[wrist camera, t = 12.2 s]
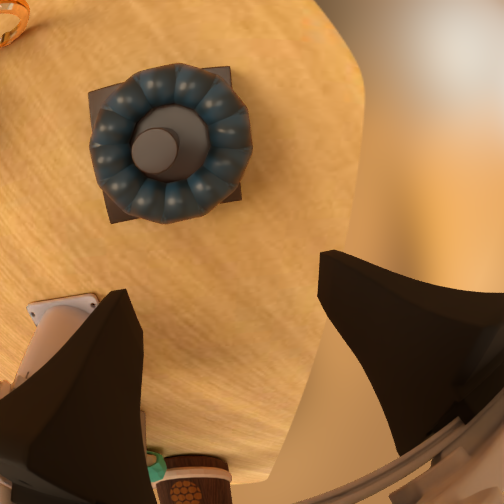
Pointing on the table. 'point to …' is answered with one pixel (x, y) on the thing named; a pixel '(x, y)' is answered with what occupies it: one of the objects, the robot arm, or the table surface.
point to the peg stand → (164, 142)
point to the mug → (194, 481)
